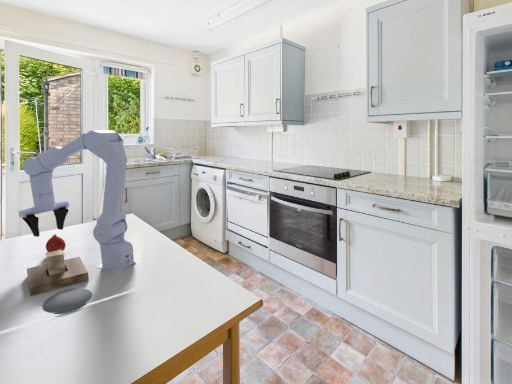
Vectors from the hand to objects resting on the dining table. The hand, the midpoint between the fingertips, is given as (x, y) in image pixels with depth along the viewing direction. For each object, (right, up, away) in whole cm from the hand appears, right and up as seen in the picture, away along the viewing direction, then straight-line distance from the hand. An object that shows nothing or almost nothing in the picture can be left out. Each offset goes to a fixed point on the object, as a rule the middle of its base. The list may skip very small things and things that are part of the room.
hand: (48, 232), depth 101 cm
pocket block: (+11, -13, -11) cm, 20 cm away
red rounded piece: (-1, -9, +6) cm, 11 cm away
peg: (+11, -12, -11) cm, 20 cm away
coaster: (+21, -15, -22) cm, 34 cm away
